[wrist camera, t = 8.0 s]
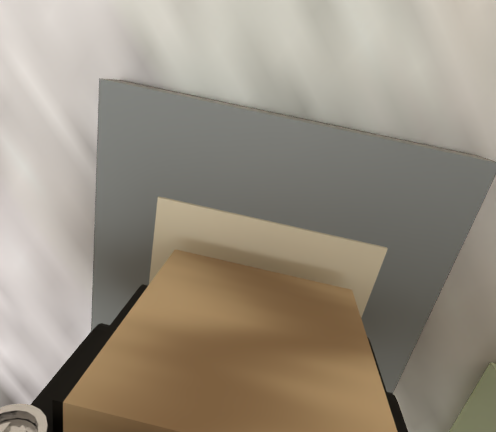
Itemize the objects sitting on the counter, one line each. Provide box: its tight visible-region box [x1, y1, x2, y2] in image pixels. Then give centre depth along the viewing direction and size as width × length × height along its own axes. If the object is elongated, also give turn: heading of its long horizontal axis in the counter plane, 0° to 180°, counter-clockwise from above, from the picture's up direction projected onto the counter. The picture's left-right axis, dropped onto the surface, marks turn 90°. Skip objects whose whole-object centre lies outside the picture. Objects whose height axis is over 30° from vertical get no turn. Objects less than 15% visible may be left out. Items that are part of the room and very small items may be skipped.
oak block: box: [63, 249, 397, 432], centre depth 8 cm, size 5×5×5 cm
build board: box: [91, 79, 496, 394], centre depth 12 cm, size 11×13×1 cm
